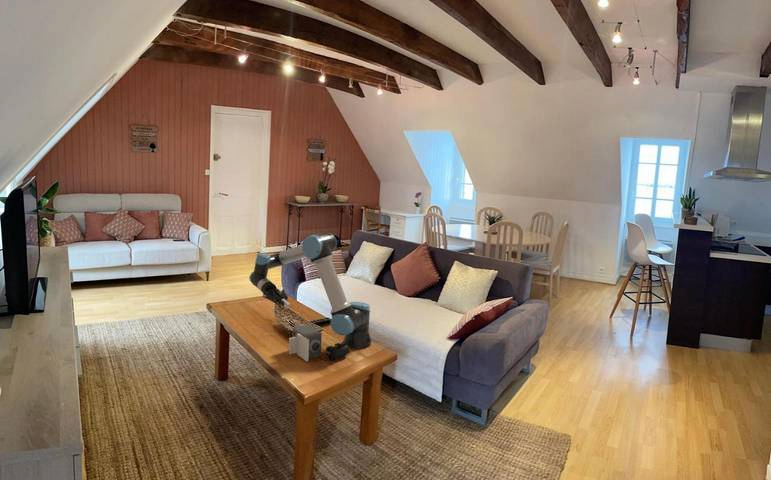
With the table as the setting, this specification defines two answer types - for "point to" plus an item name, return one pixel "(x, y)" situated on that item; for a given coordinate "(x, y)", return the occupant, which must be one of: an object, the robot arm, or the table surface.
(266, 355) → the table surface
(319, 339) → the camera housing
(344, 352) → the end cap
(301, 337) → the side door
